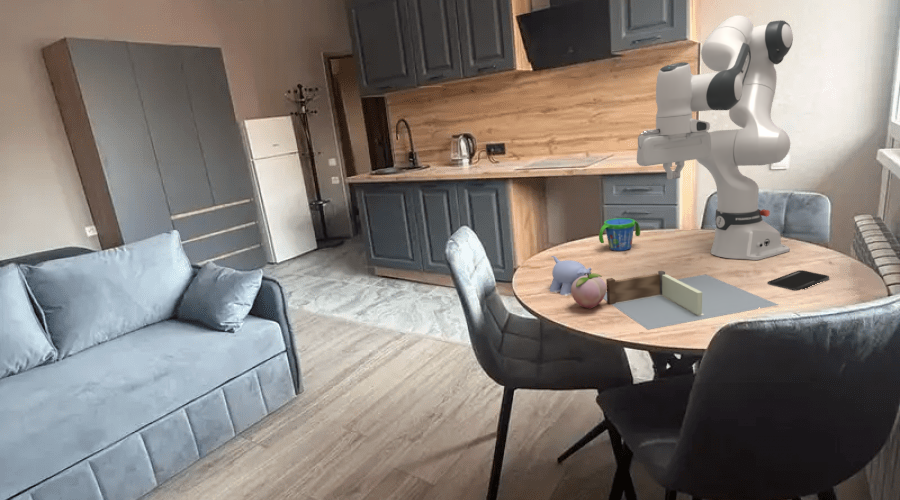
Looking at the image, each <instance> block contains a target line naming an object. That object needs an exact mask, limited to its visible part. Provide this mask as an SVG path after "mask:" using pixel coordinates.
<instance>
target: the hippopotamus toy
mask: <svg viewBox="0 0 900 500" xmlns="http://www.w3.org/2000/svg"><path fill="white" fill-rule="evenodd" d="M550 257H551V258H553V261H554V262H555V264H554V265H553V268H552V281H551V284H550V287H549V292H551V293H555V294H557V293H559V295H561V296H564V297H567V296H570V295H571V296H572V293H571V286H572V284H573V282H574V281H575V280H576V279H577V278H579V277H581V276H585V275H587V273H589V274H592V272H591V271H592V267H585V265H584V264H583V263H581V262H580V261H577V260H568V259H567V260H566V259H565V260H559V258H557V256H556V255H551V256H550Z"/></svg>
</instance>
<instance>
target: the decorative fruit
mask: <svg viewBox="0 0 900 500" xmlns="http://www.w3.org/2000/svg"><path fill="white" fill-rule="evenodd" d="M601 277H602V275H601V274H599V273H596V272H593V273H592V272H591V274H589V273H587V275H585V276H581V277H579V278H577V279H576V280H575V281H574V282H573V284H572V286H571V293H572V294H571V296H572V298H573V300H574V302H576V303H577V305H579V306H581V307H582V308H585V309H592V308H594V307H595V308H596V307H597V306H598V305H599V304H601V302H602V301H603V300H604V299H603V298H604V296H605V294H606V292H607V283H606V282H605V281H604V280H603V279H602V278H601Z"/></svg>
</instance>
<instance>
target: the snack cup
mask: <svg viewBox="0 0 900 500" xmlns="http://www.w3.org/2000/svg"><path fill="white" fill-rule="evenodd" d="M634 228H635V232H634ZM604 232H606V237H607V239H606V240H607V243H608V247H609V249H610V250H612V251H616V252H623V251H627V250H630V249H632V244H633V236H634V234H635V236H636V237H640V235H641V227H640V224H639V222H638V221H637V220H635V219H633V218H628V217H616V218H610V219H607V220H605V221H604V222H603V225H602V226H601V228H600V230H599V234H598V240H599V242H600V243H601V244H605V240H604Z"/></svg>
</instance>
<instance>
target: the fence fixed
mask: <svg viewBox="0 0 900 500" xmlns="http://www.w3.org/2000/svg"><path fill="white" fill-rule="evenodd" d="M665 274H666V271H665V270H658V271H657V272H656V273H652V274H650V273H649V274H644V275H640V276H634V277H633V276H632V277H627V278H622V279H615V278H613V277H610V278H606V279H605V280H606V282H605V283H606V287H607V291H606V292H607V301H606V303H607V304H609V305H611V304H615V303H616V302H619V301H624V300H630V299H636V298H641V297H647V296H652V295H658V294H659V295H662V275H665Z"/></svg>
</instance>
